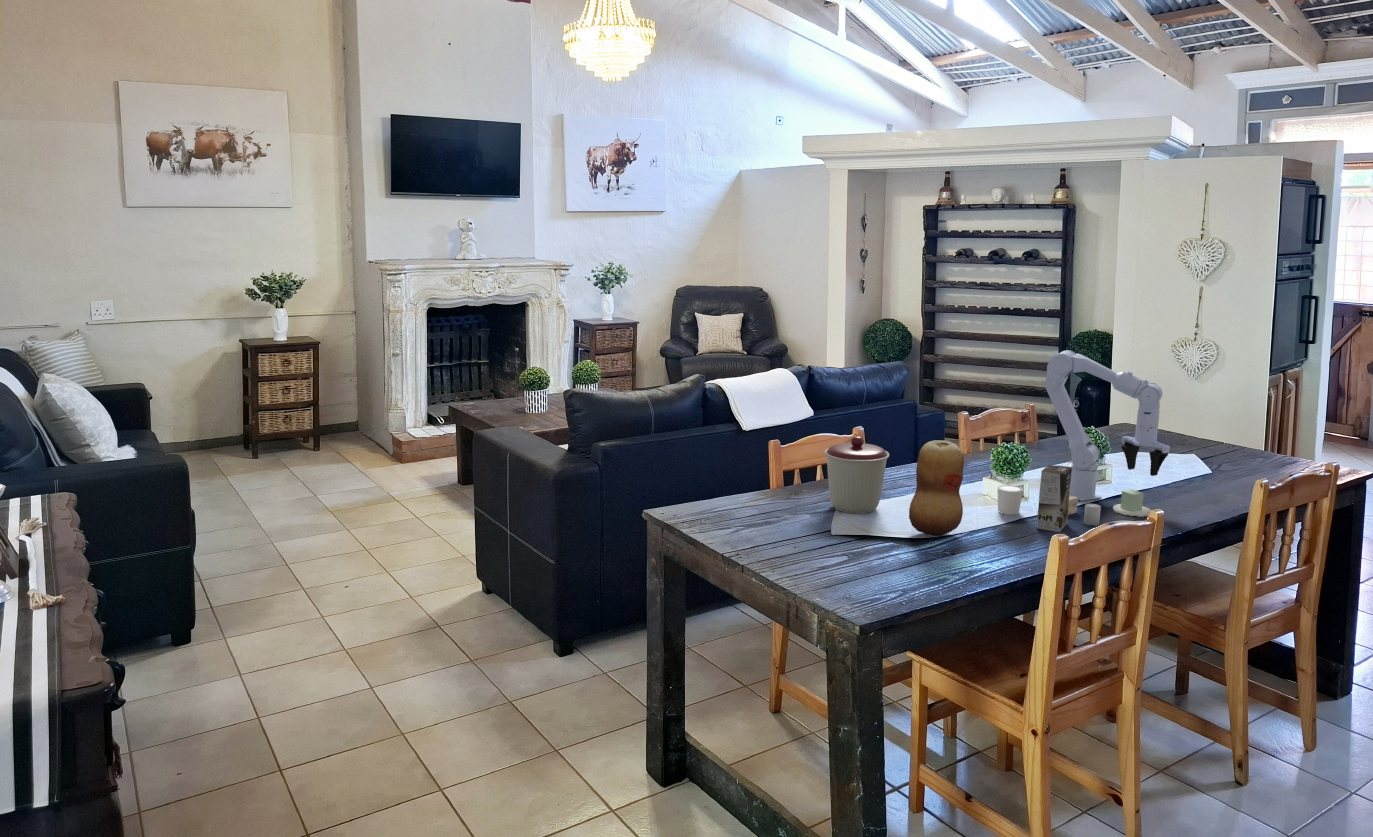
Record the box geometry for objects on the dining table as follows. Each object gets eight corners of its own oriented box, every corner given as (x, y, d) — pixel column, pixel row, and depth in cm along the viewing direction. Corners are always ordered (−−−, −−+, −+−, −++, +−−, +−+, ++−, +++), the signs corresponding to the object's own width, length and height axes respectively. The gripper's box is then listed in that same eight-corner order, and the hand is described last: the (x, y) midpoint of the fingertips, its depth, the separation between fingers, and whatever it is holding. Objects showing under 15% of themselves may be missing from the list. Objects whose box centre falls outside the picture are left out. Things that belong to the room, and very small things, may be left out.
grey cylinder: (1080, 522, 279) (1081, 504, 278) (1091, 520, 280) (1093, 503, 279) (1091, 526, 275) (1092, 508, 274) (1102, 524, 277) (1104, 507, 276)
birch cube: (1053, 511, 288) (1054, 496, 287) (1062, 509, 291) (1063, 493, 290) (1067, 515, 285) (1068, 500, 284) (1076, 512, 287) (1077, 497, 287)
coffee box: (1060, 532, 269) (1065, 474, 266) (1035, 528, 273) (1040, 470, 269) (1068, 524, 277) (1073, 466, 273) (1043, 520, 280) (1048, 463, 277)
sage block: (1120, 507, 289) (1122, 490, 288) (1130, 506, 291) (1132, 489, 290) (1131, 511, 286) (1133, 494, 285) (1141, 510, 287) (1143, 493, 286)
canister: (898, 508, 290) (902, 436, 285) (863, 522, 277) (866, 447, 272) (845, 496, 302) (848, 426, 297) (809, 508, 289) (812, 436, 284)
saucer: (1104, 508, 291) (1105, 506, 291) (1131, 504, 295) (1131, 502, 295) (1132, 518, 282) (1132, 515, 282) (1159, 514, 286) (1159, 511, 286)
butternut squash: (928, 545, 258) (934, 450, 253) (898, 530, 270) (902, 438, 265) (972, 539, 264) (979, 445, 258) (940, 524, 276) (946, 434, 270)
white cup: (1008, 516, 283) (1010, 492, 281) (990, 510, 289) (992, 486, 287) (1026, 513, 286) (1028, 489, 285) (1008, 507, 292) (1010, 483, 290)
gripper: (1116, 422, 294) (1111, 467, 297) (1159, 432, 282) (1154, 479, 285) (1132, 420, 298) (1128, 465, 300) (1176, 430, 285) (1171, 476, 288)
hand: (1142, 472), depth 293 cm, fingers open, 7 cm apart
